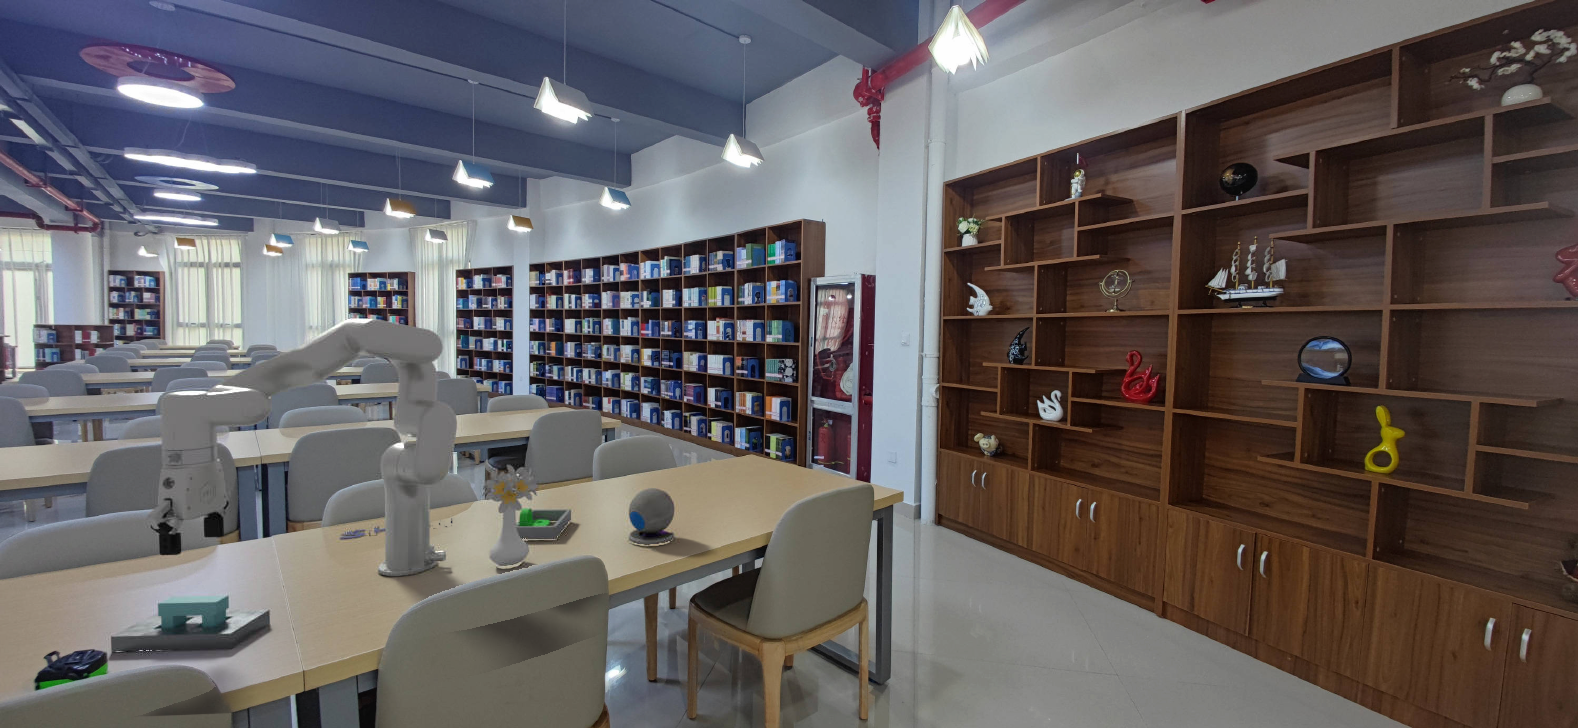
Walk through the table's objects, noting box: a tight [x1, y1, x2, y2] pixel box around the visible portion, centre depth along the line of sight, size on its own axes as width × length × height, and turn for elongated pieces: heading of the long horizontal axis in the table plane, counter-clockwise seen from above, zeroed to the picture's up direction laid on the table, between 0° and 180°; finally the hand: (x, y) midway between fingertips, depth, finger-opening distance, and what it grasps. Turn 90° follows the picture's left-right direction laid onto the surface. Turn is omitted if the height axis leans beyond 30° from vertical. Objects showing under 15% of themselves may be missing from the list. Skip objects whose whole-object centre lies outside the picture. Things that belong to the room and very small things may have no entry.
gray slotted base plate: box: [110, 609, 271, 653], centre depth 119 cm, size 20×10×3 cm, turn 96°
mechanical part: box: [518, 508, 551, 526], centre depth 186 cm, size 12×6×8 cm, turn 6°
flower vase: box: [481, 464, 539, 566], centre depth 158 cm, size 13×18×25 cm
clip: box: [157, 594, 230, 629], centre depth 119 cm, size 10×3×8 cm, turn 96°
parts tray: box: [516, 508, 572, 539], centre depth 186 cm, size 12×18×4 cm, turn 6°
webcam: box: [628, 487, 675, 545], centre depth 181 cm, size 13×13×15 cm
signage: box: [339, 527, 385, 540], centre depth 186 cm, size 28×1×10 cm
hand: (193, 545), depth 118 cm, fingers open, 9 cm apart
